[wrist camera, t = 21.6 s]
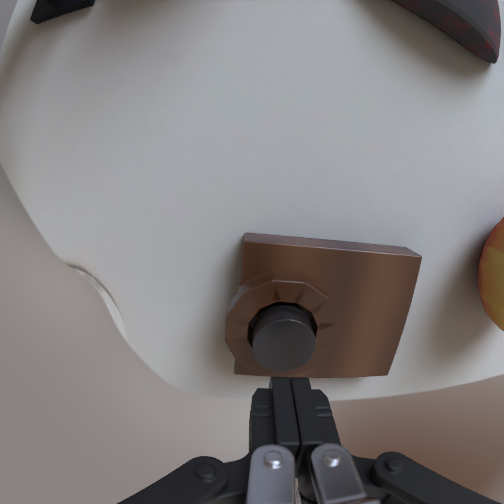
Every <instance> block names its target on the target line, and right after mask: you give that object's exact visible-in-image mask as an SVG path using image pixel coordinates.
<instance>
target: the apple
mask: <svg viewBox="0 0 504 504" xmlns="http://www.w3.org/2000/svg"><path fill="white" fill-rule="evenodd" d="M478 287H479V292H480V296H481V301H482V304H483V307H484V310H485V312H486V313H487V314H488V316H489V317H490V318H491V319H492V321H493V322H494V323H495V324H496V325H497V326H498V327H499V328H500V329H502V330H503V331H504V217H503V218H502V219H501V221H500V222H499V223H498V224H497V225H496V226H495V227H494V228H493V229H492V231H491V233H490V235H489V237H488V239H487V241H486V243H485V244H484V247H483V251H482V254H481V258H480V261H479V272H478Z"/></svg>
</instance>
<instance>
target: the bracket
mask: <svg viewBox="0 0 504 504" xmlns="http://www.w3.org/2000/svg"><path fill="white" fill-rule="evenodd" d="M94 2H95V0H37V2H36V4H35V7H34V10H33V12H32V15H31V18H30V20H31V21H32V22H34V23H36V24H39V23H41V22H44V21H46V20H49V19H52V18H55V17H57V16H60V15H63V14H66V13H69V12H72V11H75V10H79V9H82V8H86V7H89V6H93V5H94Z"/></svg>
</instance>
